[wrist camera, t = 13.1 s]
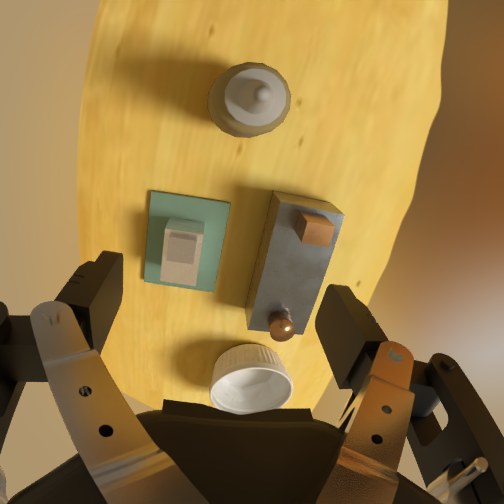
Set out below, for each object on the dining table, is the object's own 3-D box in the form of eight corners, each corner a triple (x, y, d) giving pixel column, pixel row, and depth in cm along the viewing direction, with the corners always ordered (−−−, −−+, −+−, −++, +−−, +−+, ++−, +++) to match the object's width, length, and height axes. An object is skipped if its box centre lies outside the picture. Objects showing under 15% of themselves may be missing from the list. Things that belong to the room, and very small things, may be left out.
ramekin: (284, 331, 49) (292, 361, 43) (287, 382, 55) (294, 411, 48) (202, 342, 49) (201, 374, 42) (217, 392, 54) (218, 422, 48)
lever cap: (170, 217, 39) (163, 231, 34) (204, 222, 39) (203, 237, 35) (164, 265, 41) (158, 285, 37) (197, 270, 42) (195, 290, 38)
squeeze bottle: (272, 68, 32) (316, 33, 16) (280, 131, 36) (328, 149, 20) (204, 76, 32) (189, 44, 16) (213, 140, 36) (207, 163, 19)
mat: (152, 190, 37) (151, 191, 37) (230, 202, 39) (230, 203, 39) (144, 279, 43) (144, 281, 42) (213, 290, 44) (213, 292, 44)
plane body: (273, 190, 39) (286, 211, 31) (331, 202, 40) (356, 225, 33) (244, 308, 46) (250, 347, 38) (295, 314, 48) (308, 351, 40)
